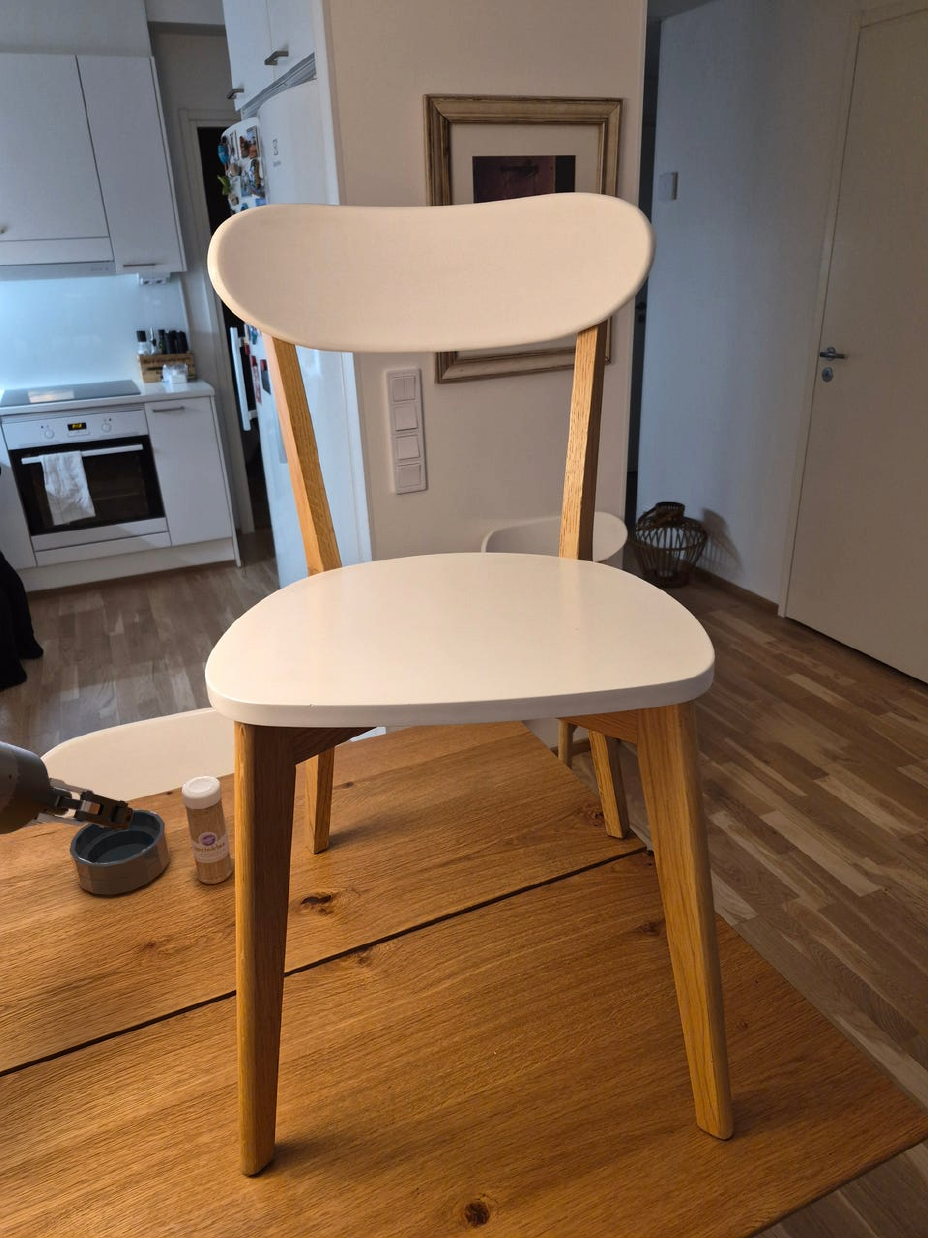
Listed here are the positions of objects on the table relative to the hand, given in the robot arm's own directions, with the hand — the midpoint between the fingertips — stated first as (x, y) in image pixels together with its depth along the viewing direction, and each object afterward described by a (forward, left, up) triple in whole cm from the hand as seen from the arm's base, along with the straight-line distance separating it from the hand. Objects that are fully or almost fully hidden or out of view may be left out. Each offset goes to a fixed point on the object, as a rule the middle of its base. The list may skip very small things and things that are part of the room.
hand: (91, 812), depth 84 cm
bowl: (-8, +15, -20) cm, 26 cm away
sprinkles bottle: (+5, +15, -21) cm, 26 cm away
